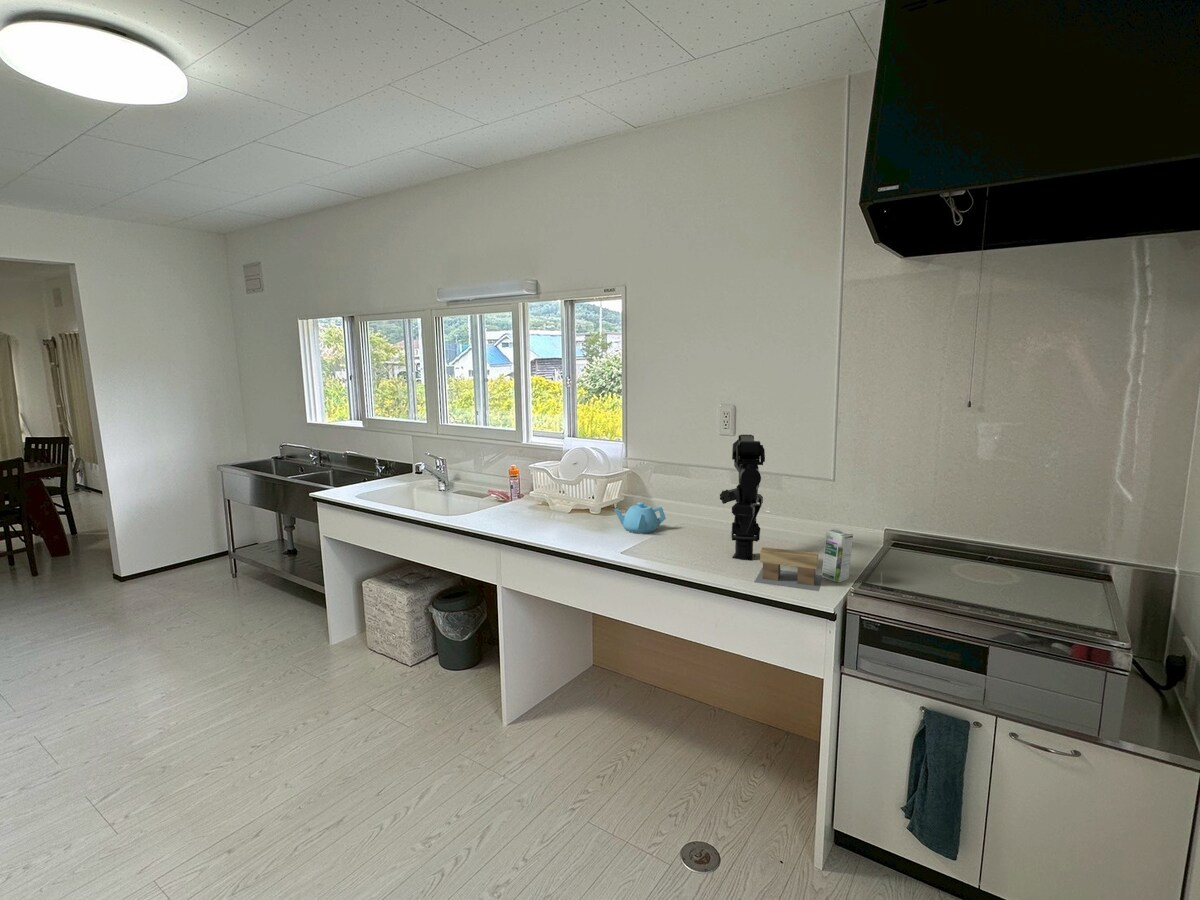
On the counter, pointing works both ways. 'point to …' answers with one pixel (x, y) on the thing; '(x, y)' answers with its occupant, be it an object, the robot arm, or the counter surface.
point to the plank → (789, 557)
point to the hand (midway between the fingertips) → (747, 530)
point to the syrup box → (837, 555)
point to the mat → (790, 580)
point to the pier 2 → (806, 576)
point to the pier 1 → (771, 571)
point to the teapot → (641, 518)
